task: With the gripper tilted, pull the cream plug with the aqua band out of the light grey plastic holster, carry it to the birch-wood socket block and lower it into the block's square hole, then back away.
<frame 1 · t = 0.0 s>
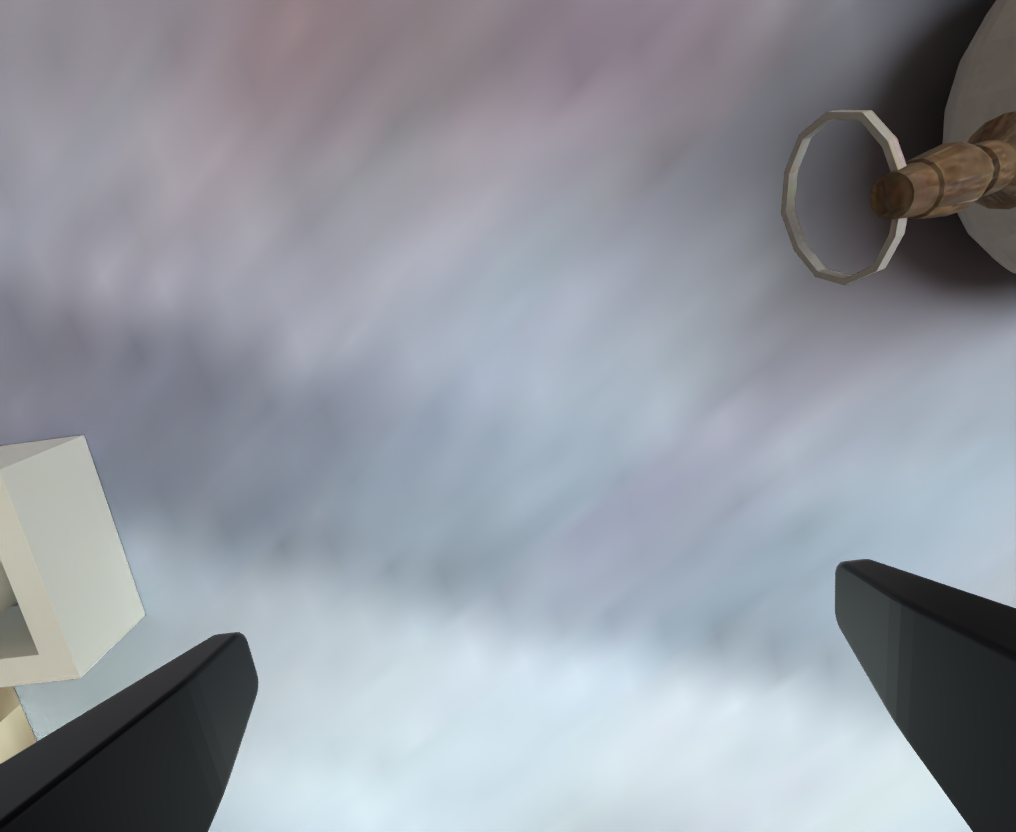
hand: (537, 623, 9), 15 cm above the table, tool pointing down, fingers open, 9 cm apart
coffee pot: (914, 162, 21), on the table
holster: (21, 540, 25), on the table
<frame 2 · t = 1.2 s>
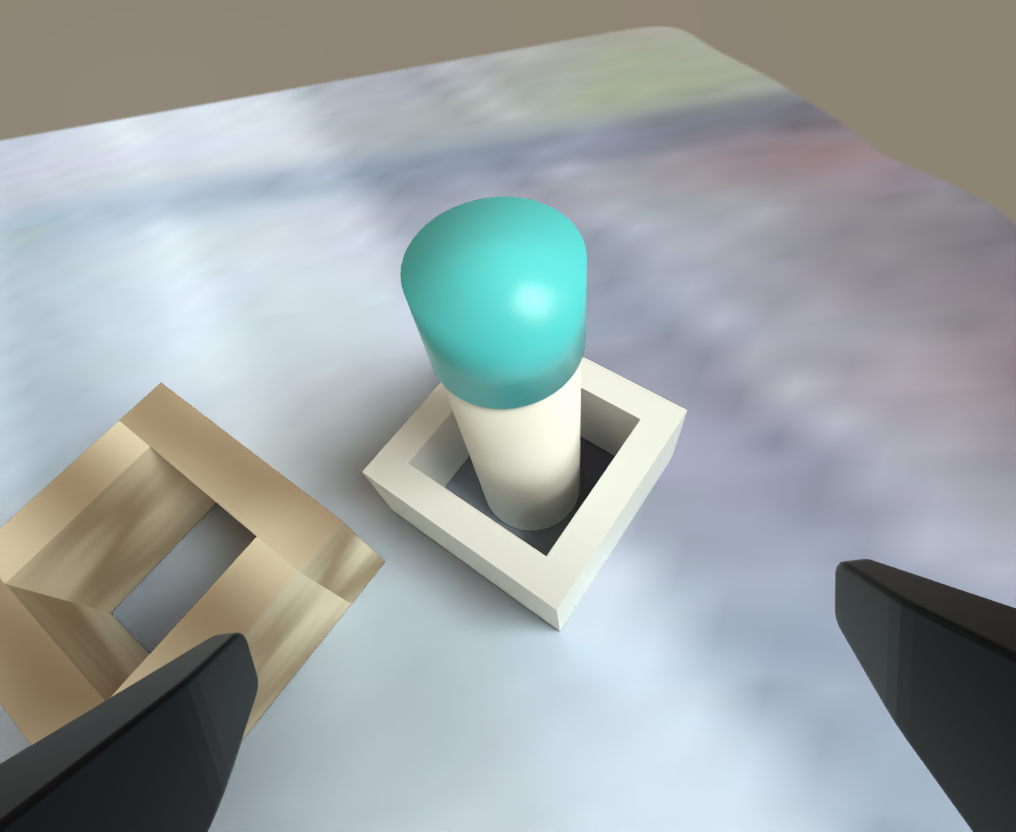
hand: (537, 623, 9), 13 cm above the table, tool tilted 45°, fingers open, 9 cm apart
plug: (518, 406, 19), in the holster
holster: (531, 484, 24), on the table
socket block: (213, 593, 23), on the table
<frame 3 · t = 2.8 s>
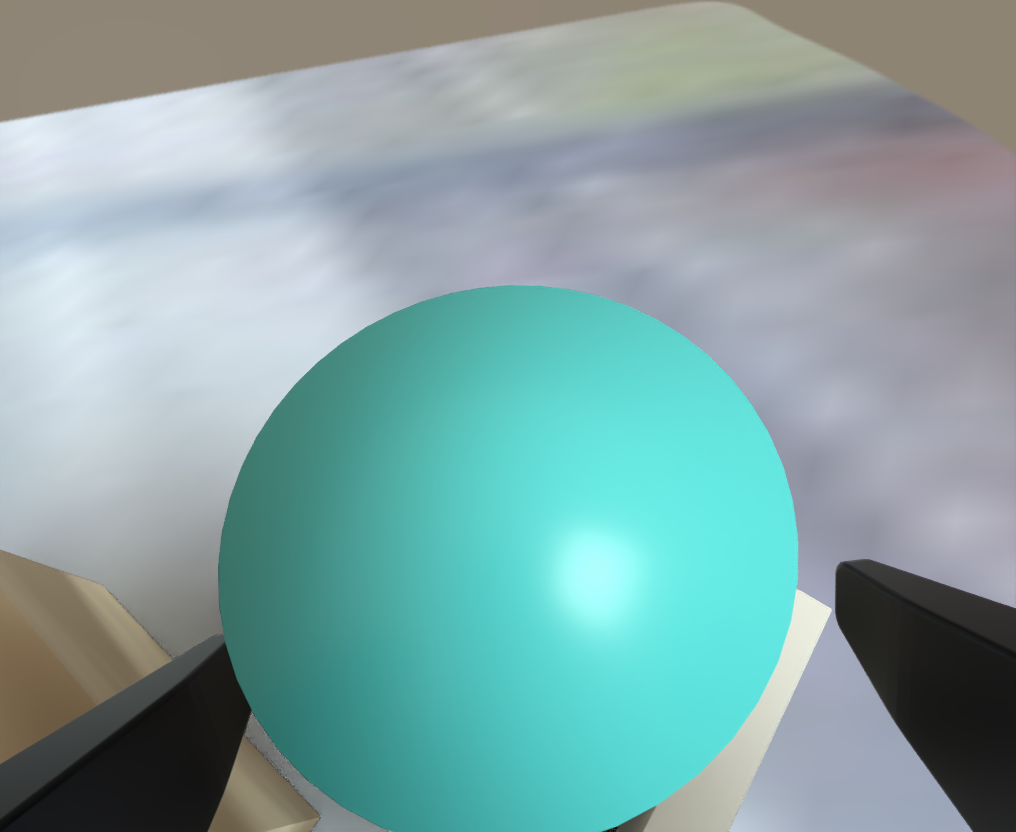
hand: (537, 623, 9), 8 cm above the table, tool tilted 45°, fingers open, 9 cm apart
plug: (542, 641, 10), in the holster
holster: (555, 680, 16), on the table
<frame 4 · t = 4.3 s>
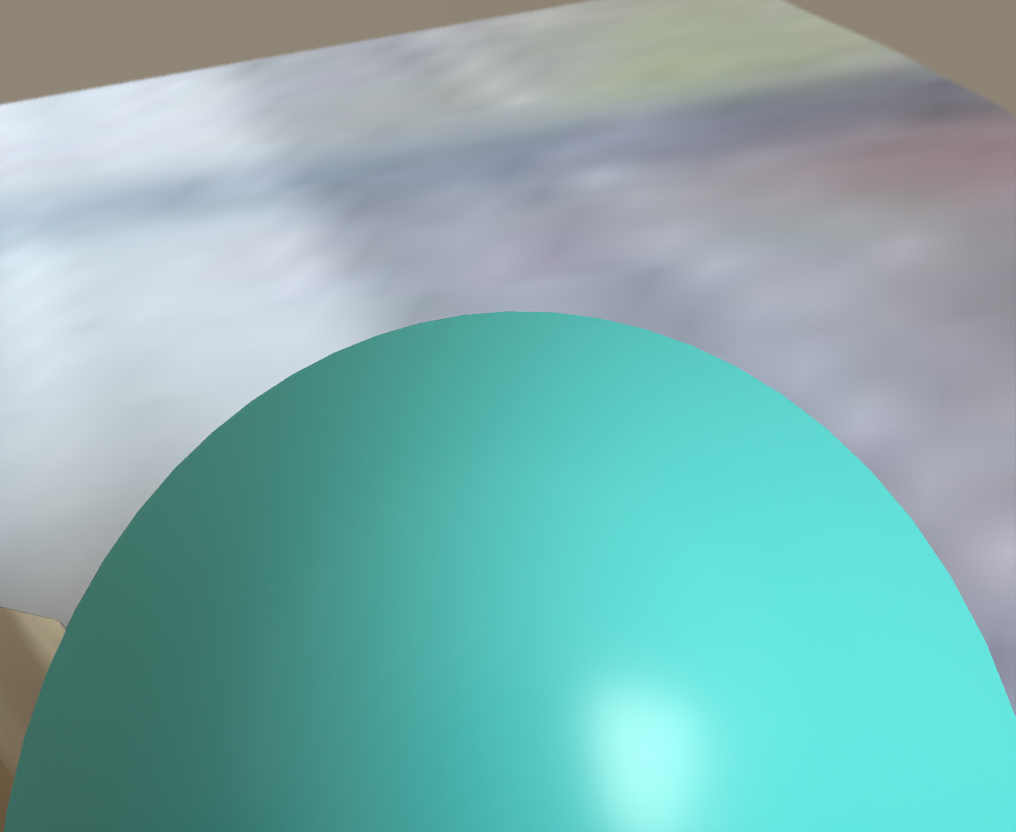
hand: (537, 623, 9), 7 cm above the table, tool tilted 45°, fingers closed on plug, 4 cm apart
plug: (548, 727, 8), in the holster, touching gripper
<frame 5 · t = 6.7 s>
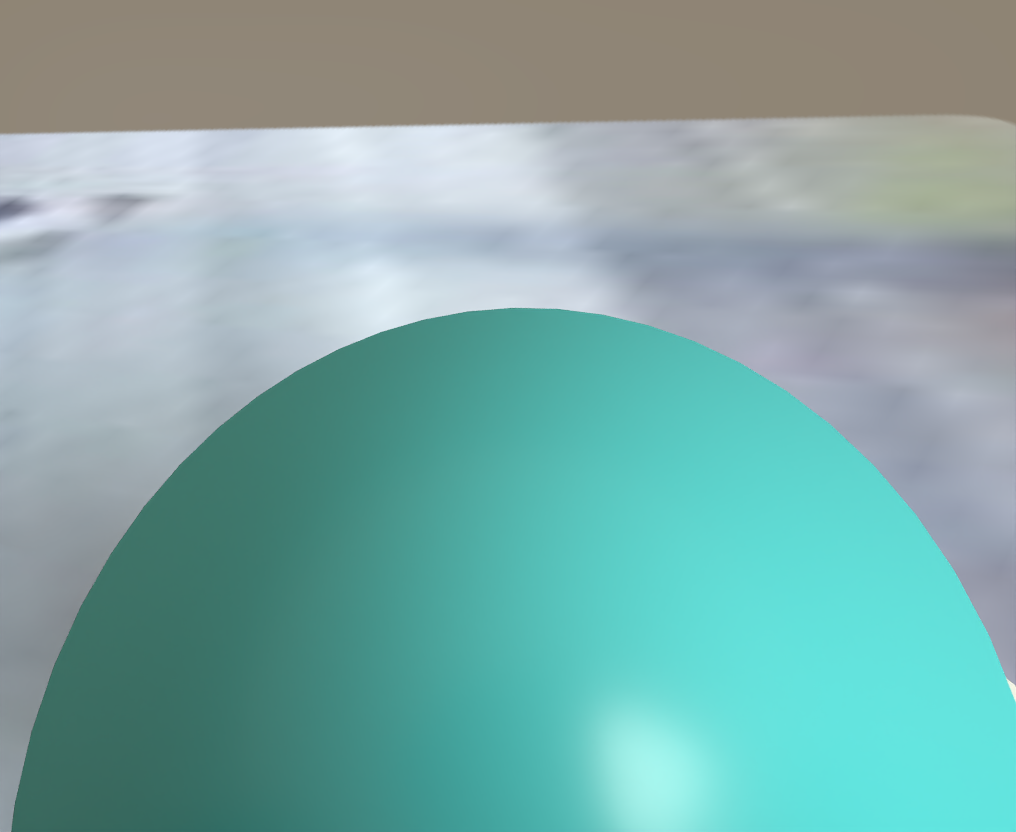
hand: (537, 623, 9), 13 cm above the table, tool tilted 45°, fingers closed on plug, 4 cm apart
plug: (550, 725, 8), point 13 cm above the table, touching gripper
when the fingers open (8 cm above the table, at t = 9.1 s): plug drops 2 cm, resting in socket block.
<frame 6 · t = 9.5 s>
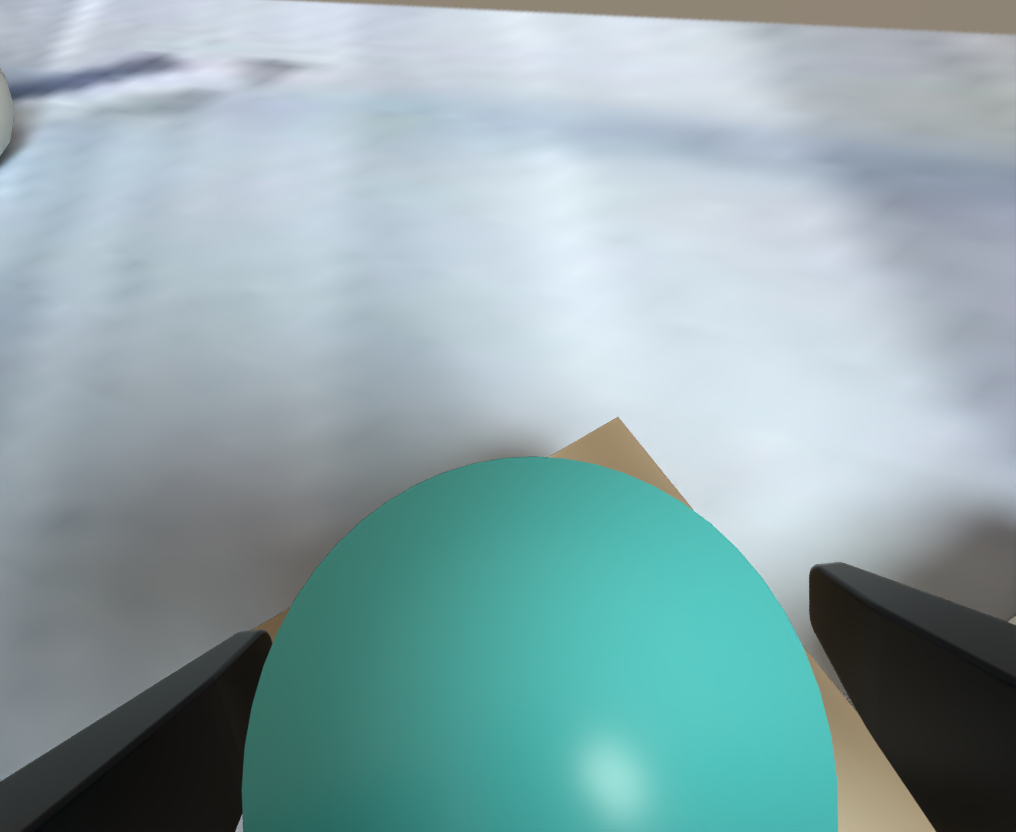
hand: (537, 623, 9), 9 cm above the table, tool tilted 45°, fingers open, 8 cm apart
plug: (554, 732, 10), in the socket block
socket block: (561, 735, 15), on the table
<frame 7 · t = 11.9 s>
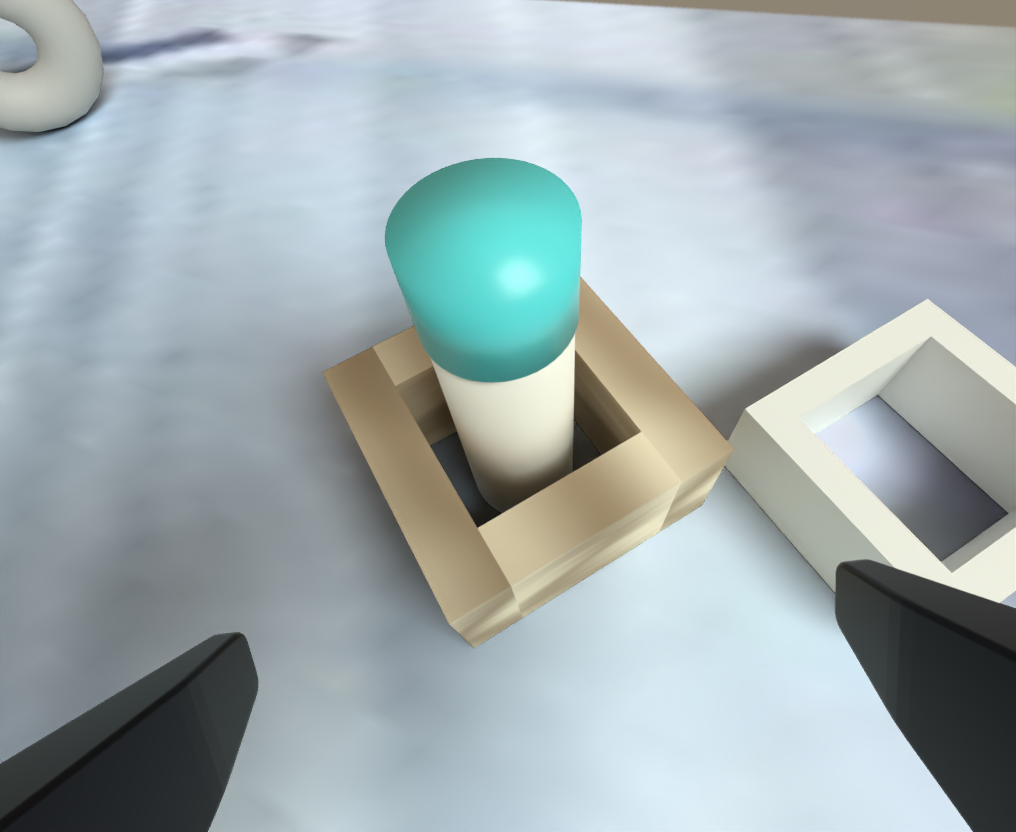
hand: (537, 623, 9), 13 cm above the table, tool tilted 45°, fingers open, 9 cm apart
plug: (509, 385, 18), in the socket block
holster: (881, 489, 22), on the table
socket block: (523, 468, 24), on the table
donut: (68, 126, 39), on the table
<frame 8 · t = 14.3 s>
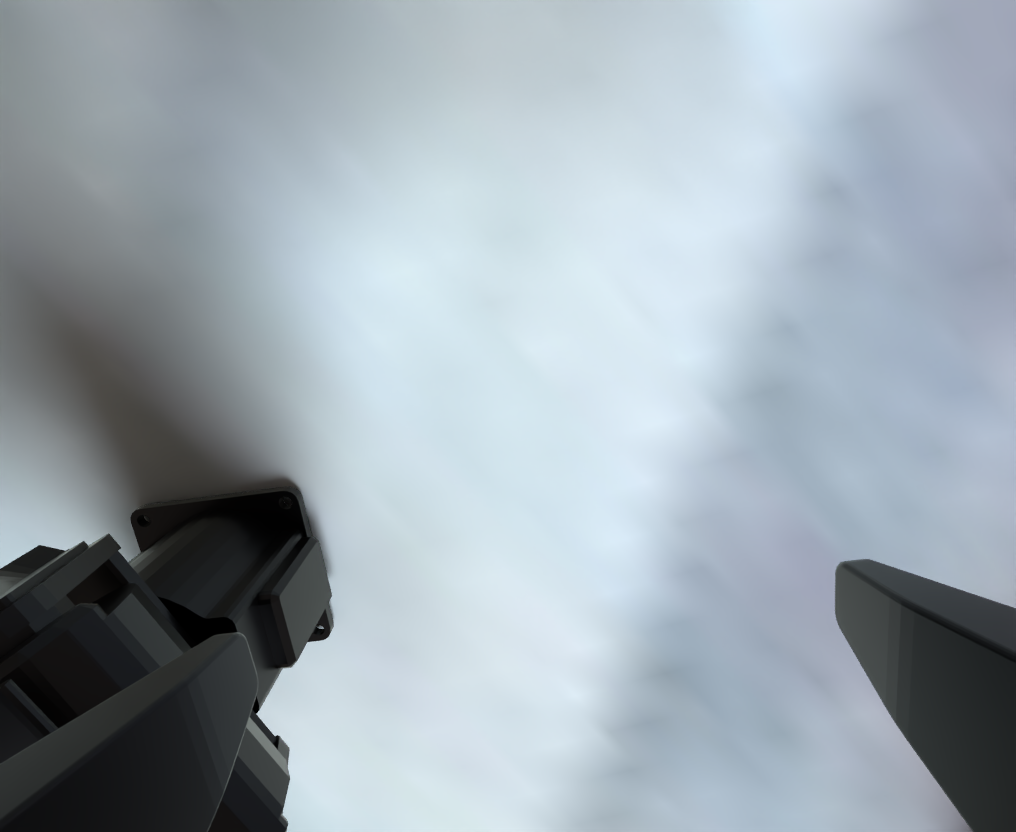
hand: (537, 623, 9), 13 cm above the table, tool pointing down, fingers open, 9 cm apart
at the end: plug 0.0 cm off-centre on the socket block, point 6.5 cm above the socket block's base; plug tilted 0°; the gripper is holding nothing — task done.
